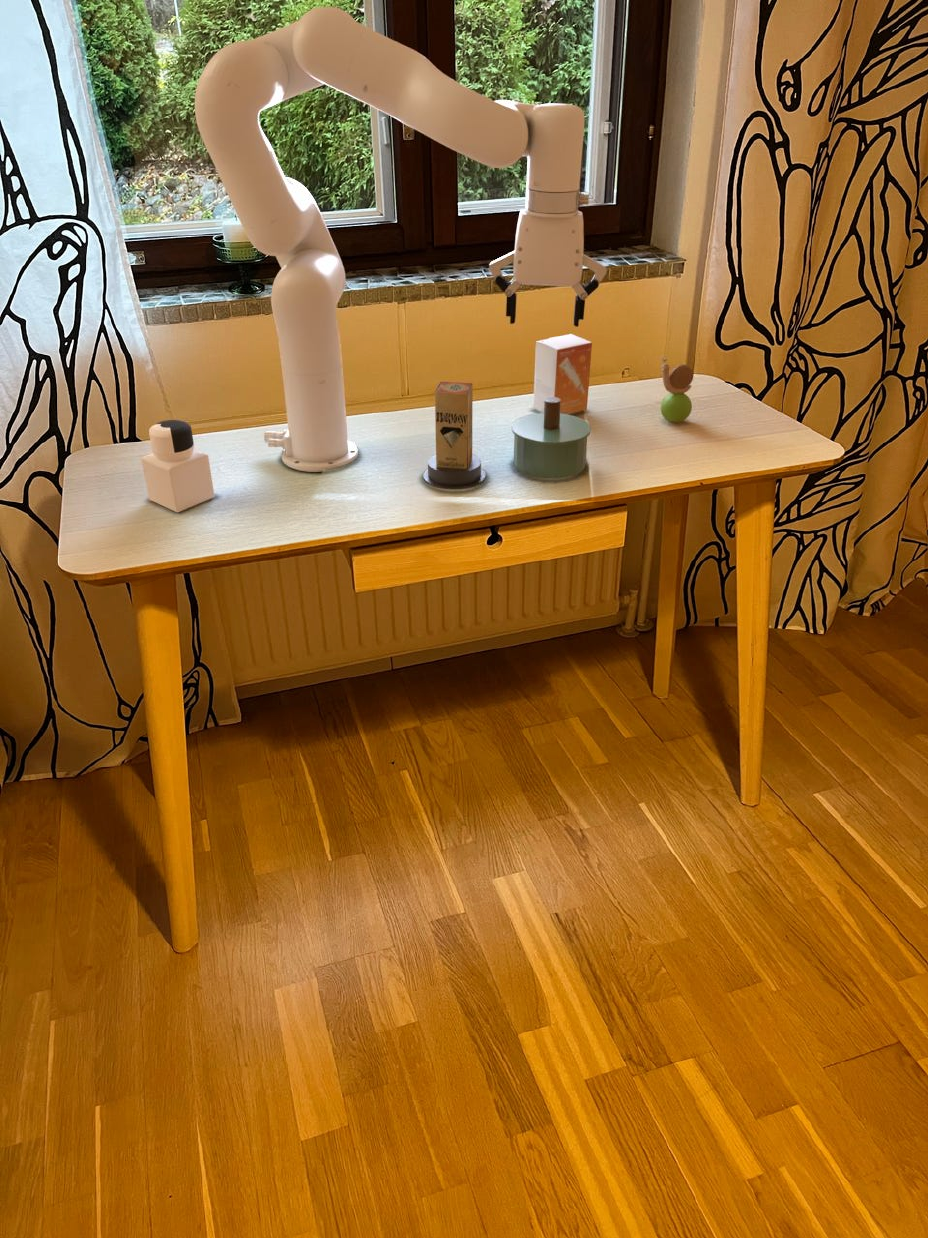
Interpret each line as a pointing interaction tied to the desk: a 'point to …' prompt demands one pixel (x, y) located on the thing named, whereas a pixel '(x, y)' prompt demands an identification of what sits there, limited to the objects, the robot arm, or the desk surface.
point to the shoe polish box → (453, 425)
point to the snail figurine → (676, 392)
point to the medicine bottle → (176, 467)
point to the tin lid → (551, 426)
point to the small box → (562, 372)
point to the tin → (549, 458)
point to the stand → (454, 475)
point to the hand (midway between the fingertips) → (544, 322)
